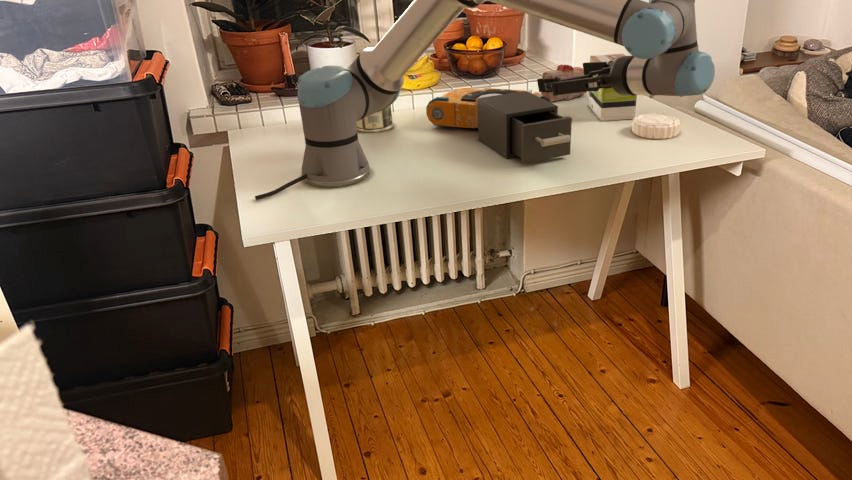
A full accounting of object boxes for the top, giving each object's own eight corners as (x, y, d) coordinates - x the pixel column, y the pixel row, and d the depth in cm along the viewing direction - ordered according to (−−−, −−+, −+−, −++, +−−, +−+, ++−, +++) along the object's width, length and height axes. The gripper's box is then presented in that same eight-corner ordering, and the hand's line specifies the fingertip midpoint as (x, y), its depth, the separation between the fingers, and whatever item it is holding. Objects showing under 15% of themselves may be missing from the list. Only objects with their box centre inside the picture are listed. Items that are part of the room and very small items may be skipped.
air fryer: (556, 149, 172) (557, 105, 167) (506, 158, 167) (506, 114, 162) (525, 131, 184) (525, 90, 179) (478, 139, 179) (477, 98, 174)
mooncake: (688, 134, 179) (690, 121, 177) (651, 142, 175) (652, 128, 173) (658, 122, 189) (660, 109, 187) (622, 129, 184) (623, 116, 182)
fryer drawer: (580, 160, 162) (581, 122, 158) (532, 169, 157) (533, 131, 153) (539, 137, 177) (540, 102, 173) (494, 145, 172) (494, 109, 168)
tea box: (586, 106, 204) (589, 54, 196) (620, 104, 204) (624, 52, 197) (600, 121, 191) (603, 66, 183) (636, 119, 191) (640, 64, 184)
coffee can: (382, 118, 197) (377, 68, 190) (399, 127, 190) (395, 75, 183) (348, 125, 192) (342, 73, 185) (365, 135, 185) (359, 81, 178)
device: (453, 77, 203) (553, 84, 194) (454, 106, 207) (553, 113, 198) (422, 98, 185) (531, 106, 175) (424, 128, 189) (531, 138, 179)
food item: (573, 91, 218) (575, 59, 213) (590, 96, 212) (592, 63, 207) (538, 98, 212) (538, 65, 207) (554, 104, 206) (555, 70, 201)
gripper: (595, 112, 130) (522, 110, 147) (680, 78, 142) (604, 79, 159) (589, 72, 127) (515, 74, 144) (677, 40, 140) (600, 45, 156)
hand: (562, 77), depth 151 cm, fingers open, 13 cm apart
